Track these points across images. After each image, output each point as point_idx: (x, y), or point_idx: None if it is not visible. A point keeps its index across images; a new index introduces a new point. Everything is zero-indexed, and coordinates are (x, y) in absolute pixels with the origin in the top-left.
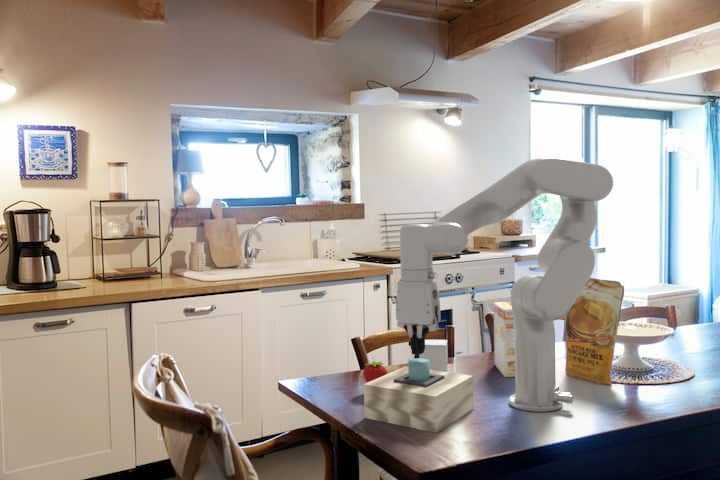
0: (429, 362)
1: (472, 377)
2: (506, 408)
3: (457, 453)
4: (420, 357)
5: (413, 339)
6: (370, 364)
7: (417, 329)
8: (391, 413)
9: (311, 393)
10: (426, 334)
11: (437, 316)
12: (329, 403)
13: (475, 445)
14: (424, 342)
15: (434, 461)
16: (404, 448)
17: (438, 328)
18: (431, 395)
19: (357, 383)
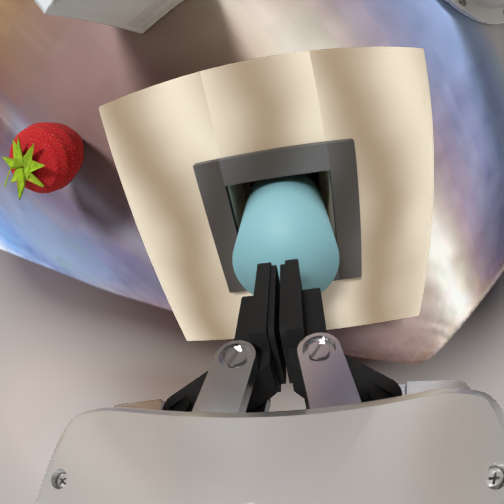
0: (328, 228)
1: (422, 56)
2: (440, 16)
3: (453, 304)
4: (83, 16)
5: (279, 380)
6: (24, 185)
7: (249, 381)
8: None
9: (23, 241)
10: (350, 362)
11: (478, 440)
12: (84, 262)
13: (471, 264)
14: (324, 318)
15: (431, 340)
16: (373, 338)
17: (467, 387)
18: (406, 315)
19: (8, 128)
